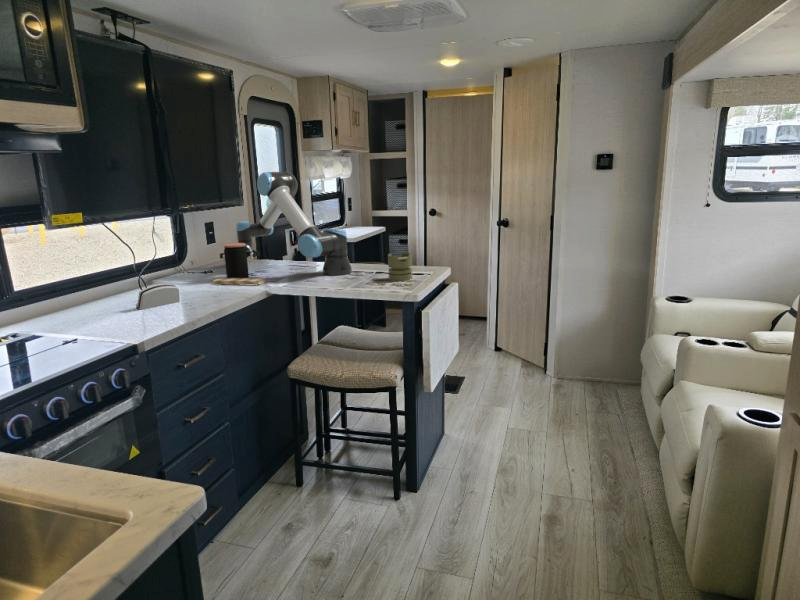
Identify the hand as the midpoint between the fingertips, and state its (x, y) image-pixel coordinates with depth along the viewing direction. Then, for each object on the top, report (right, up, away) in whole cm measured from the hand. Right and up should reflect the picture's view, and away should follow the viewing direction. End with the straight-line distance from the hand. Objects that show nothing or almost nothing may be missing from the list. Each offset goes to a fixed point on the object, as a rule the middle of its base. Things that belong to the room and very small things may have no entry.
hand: (237, 257), depth 271 cm
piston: (+84, -12, -15) cm, 86 cm away
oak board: (+5, -14, -13) cm, 20 cm away
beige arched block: (-16, -24, -53) cm, 61 cm away
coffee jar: (+1, -12, -3) cm, 12 cm away
